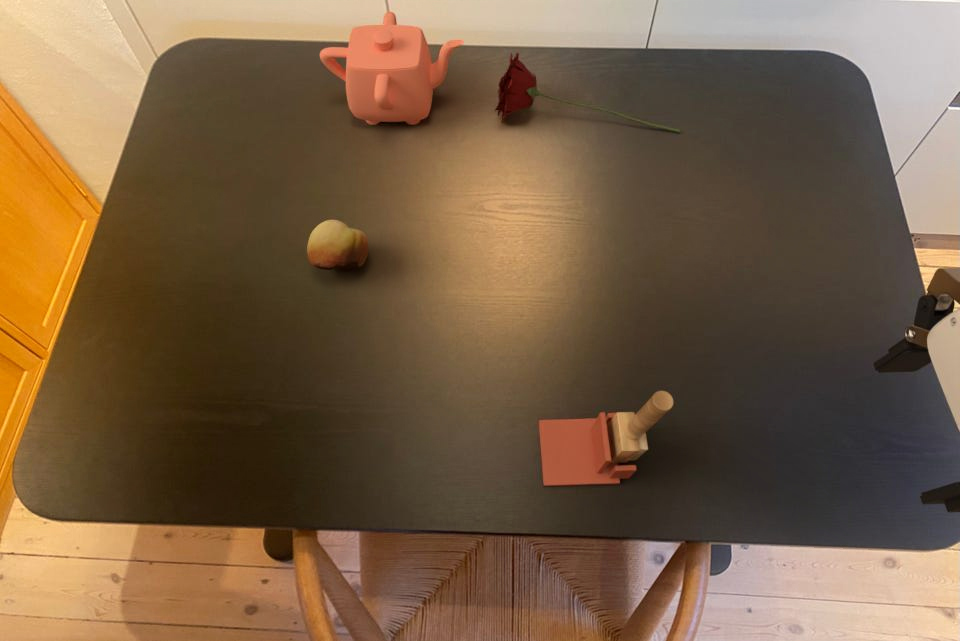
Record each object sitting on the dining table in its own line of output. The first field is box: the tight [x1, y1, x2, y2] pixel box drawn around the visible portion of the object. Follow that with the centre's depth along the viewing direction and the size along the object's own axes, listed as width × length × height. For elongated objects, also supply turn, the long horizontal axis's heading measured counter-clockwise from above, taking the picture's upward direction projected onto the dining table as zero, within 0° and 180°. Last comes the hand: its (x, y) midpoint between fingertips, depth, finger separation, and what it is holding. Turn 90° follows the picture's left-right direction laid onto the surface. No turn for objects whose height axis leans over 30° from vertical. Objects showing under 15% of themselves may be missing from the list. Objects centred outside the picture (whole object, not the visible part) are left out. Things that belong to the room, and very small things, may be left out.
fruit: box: [306, 219, 369, 272], centre depth 82 cm, size 8×8×8 cm
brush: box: [607, 390, 674, 464], centre depth 64 cm, size 15×4×3 cm
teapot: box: [319, 11, 465, 126], centre depth 94 cm, size 17×16×13 cm
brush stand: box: [538, 411, 637, 487], centre depth 71 cm, size 10×8×7 cm
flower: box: [494, 51, 681, 134], centre depth 96 cm, size 11×10×30 cm
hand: (916, 430), depth 43 cm, fingers open, 9 cm apart
